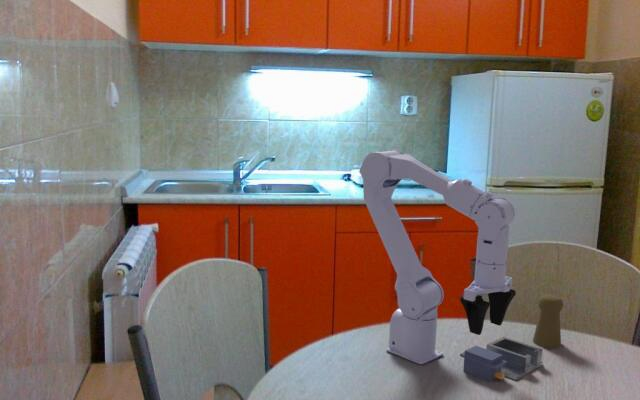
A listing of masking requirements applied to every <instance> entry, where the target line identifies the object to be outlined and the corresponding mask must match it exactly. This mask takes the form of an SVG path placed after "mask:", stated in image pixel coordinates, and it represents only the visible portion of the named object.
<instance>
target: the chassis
mask: <svg viewBox="0 0 640 400" xmlns="http://www.w3.org/2000/svg"><path fill="white" fill-rule="evenodd" d="M485 349H487V350H490V351H493V352H496V353H498V354H501V355H503V356H502V360H504V361H507V364H505V365H503V366H502V367H501V372H503V373H505V377H506V378H508V379H511V380H514V381H517V380H519V379H521V378H522V377H524V376H527V374H530V373H531V372H533V371H535V370H537V369H538V368H540V367H541V366H543V364H544V361H542V358H543V348H539V347H536V346H533V345H530V344H528V343H525V342H521V341H518V340H515V339H512V338H510V337H506V336H502V337H500V338H498V339H496V340H493V341H491V342H490V343H487V344H486V348H485Z"/></svg>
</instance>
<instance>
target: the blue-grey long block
mask: <svg viewBox="0 0 640 400" xmlns="http://www.w3.org/2000/svg"><path fill="white" fill-rule="evenodd" d="M502 356H503V355H501V354H498V353H496V352H493V351H490V350H487V349H486V348H484V347H481V346H479V345H474V346H471V347H470V348H467V349H465V350H464V351H463V352H461V353H460V354H459V357H461V358H464V359H463V370H462V371H463V373H466V374H468V375H471V376H474V377H477V378H479V379H482V380H484V381H486V382H489V383H491V382H492V381H494V380H496V379H499V380H503V379H505V377H506V376H505V373H503V372H501V367H502V366H503V365H505V364H507V361H504V360H502Z"/></svg>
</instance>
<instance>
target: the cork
mask: <svg viewBox="0 0 640 400" xmlns="http://www.w3.org/2000/svg"><path fill="white" fill-rule="evenodd" d="M537 303H538V308H539V314H538V318H537V323H536V327H535V331H534V335H533V339H532V343H533V344H535V345H536V346H539V347H542V348H545V349H547V348H548V349H559V348H561V346H562V340H561V338H562V337H561V316H560V312H561V311H562V310H563V308H564V302H563V299H562V298H561V297H560V296H558V295H554V294H542V295H541V296H540V297H539V298H538V302H537Z"/></svg>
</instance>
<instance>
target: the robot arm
mask: <svg viewBox="0 0 640 400" xmlns="http://www.w3.org/2000/svg"><path fill="white" fill-rule="evenodd" d="M359 174H360V176H361V178H362V185H363V190H362V191H363V200H364V203H365V205H366V207H367V210H368V213H369V214H370V217H371V219H372V221H373V224H374V226H375V228H376V230H377V232H378V234H379V237H380V239H381V242H382V244H383V246H384V248H385V251H386V252H387V255H388V257H389V260H390V262H391V265H392V266H393V269H394V271H395V273H396V281H395V284H394V290H395V291H396V295H397V306H398V308H397V309H396V310H395V311H394V312H393V313H392V316H391V318H390V322H389V340H388V347H386V352H389V353H392V354H394V355H395V356H398V357H400V358H401V357H402V358H404V359H406V360H408V361H411V362H413V363H416V364H418V365H424V364H427V363H429V362H430V361H433V360H435V359H438V358H440V357H442V356H444V352H443V351H440V350H438V349H436V341H437V327H438V306H440V304H442V302H443V300H444V296H445V295H444V294H445V293H444V289H443V287H442V285H441V284H440V283H439V282H438V281H437V280H436V279H435V278H434V276H433V274H432V273H431V271H430V270H429V269H428V268H426V267H424V266H423V265H422V264H421V261H420V258H419V257H418V254H417V252H416V251H415V248H414V246H413V244H412V241H411V239H410V237H409V235H408V233H407V231H406V228H405V226H404V224H403V222H402V219H401V218H400V215H399V213H398V211H397V208H396V206H395V204H394V202H393V200H392V196H393V194H394V192H395V189H396V187H397V186H398V185H399V184H400V182H401V181H402V180H405V179H406V180H407V179H408V180H411V181H413V182H415V183H418V184H419V185H421V186H423V187H425V188H427V189H429V190H431V191H433V192H434V193H437V194H439V195H441V196H442V197H443V201H444V203H445V205H447V206H448V207H450V208H452V209H454V210H455V211H457V212H459V213H460V214H462V215H464V216H466V217H468V218H469V219H471V220H473V221H474V223H475V224H476V226H477V228H478V229H477V231H478V233H477V242H476V255H475V257H476V258H475V268H474V269H475V270H474V279H473V281H472V282H471V283H470V285H469V286H467V287H466V288H464V290H463V294H461V295H460V296H459V297H460V298H459V301H460V303H461V305H462V307H463V308H464V312H465V314H466V315H465V316H466V320H467V324H468V329H469V333H470V334H471V333H472V334H474V335H478V336H480V335H481V334H482V331H483V329H484V323H485V318H486V314H487V311H488V309H489V321H490V323H491V324H492V325H496V326H502V324H503V322H504V319H505V315H506V313H507V310H508V308H509V306H510V304H511V303H512V300H513V299H514V298H515V297H516V293H517V292H516V290H514V289H511V288H512V287H513V282H514V281H513V280H514V277H511V276H507V274H506V273H507V263H508V262H507V261H508V250H509V235H510V226H509V225H510V224H511V223H512V222H513V221H514V218H515V213H516V212H515V208H514V206H513V204H512V203H511V202H510V201H509V200H507V199H506V198H505V197H502V196H497V197H494V193H492V192H490V191H487V192H485V191H484V190H482V189H480V188H478V187H477V186H474V185H472V184H473V181H471V180H470V179H468V178H467V179H466V178H465V179H461V178H459V179H455V180H453V181H452V180H450V179H448V178H447V177H445V176H444V175H442V174H441V173H439V172H438V171H436V170H434V169H432V168H431V167H430V166H428V165H426V164H424V163H423V162H421V161H419V160H417V158H415V157H414V156H412V155H411V154H408V153H404V152H403V151H401V150H399V149H392V150H389V151H388V150H387V151H373V152H370V153H368V154H367V155H366V156H365V157H364V159H363V161H362V163H361V166H360V169H359ZM485 295H487V296H488V301H485V300H484V298H483V296H485Z"/></svg>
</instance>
